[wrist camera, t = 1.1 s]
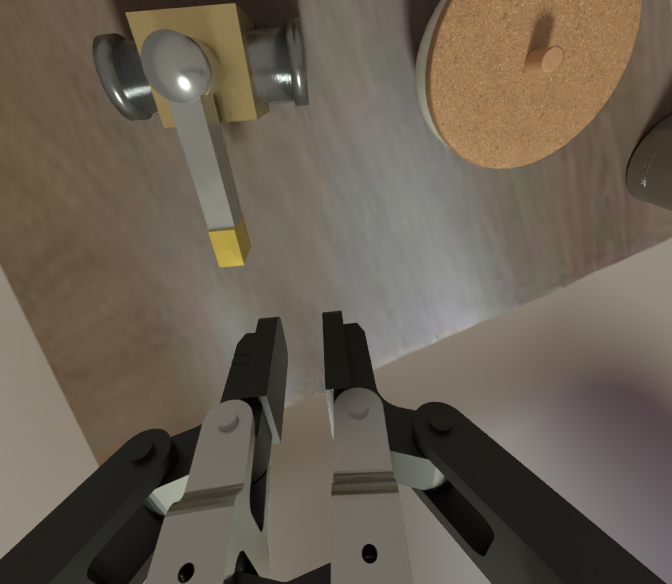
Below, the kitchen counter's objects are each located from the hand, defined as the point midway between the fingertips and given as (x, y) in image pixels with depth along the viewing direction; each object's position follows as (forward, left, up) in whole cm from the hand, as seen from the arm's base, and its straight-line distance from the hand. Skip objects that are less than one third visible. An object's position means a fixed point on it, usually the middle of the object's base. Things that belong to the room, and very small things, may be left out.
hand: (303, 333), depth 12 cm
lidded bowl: (-15, -8, -23) cm, 29 cm away
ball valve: (+6, -9, -23) cm, 25 cm away
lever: (+6, -4, -15) cm, 17 cm away
